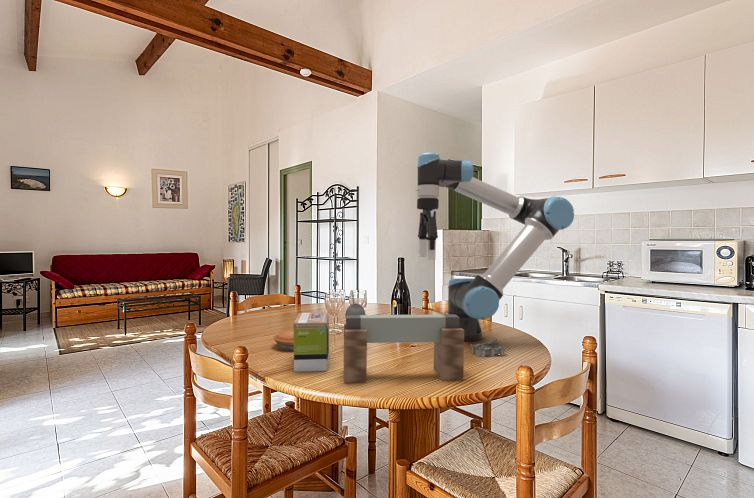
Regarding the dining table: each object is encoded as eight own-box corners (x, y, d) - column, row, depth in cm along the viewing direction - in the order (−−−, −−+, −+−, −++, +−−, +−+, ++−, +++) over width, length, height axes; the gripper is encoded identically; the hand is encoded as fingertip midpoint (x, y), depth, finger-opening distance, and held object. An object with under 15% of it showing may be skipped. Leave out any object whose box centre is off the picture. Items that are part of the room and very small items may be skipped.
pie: (263, 348, 144) (263, 334, 143) (292, 338, 157) (292, 325, 157) (298, 355, 136) (298, 340, 136) (326, 344, 150) (326, 330, 150)
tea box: (298, 356, 135) (298, 311, 134) (329, 356, 135) (329, 311, 135) (292, 372, 120) (293, 321, 119) (327, 371, 120) (328, 321, 120)
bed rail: (454, 338, 121) (455, 314, 121) (458, 341, 117) (459, 317, 117) (345, 339, 118) (345, 315, 118) (345, 343, 114) (346, 318, 114)
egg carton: (497, 350, 145) (497, 339, 145) (507, 357, 138) (508, 344, 138) (468, 351, 143) (469, 339, 143) (477, 358, 136) (477, 345, 136)
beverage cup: (362, 351, 141) (363, 293, 141) (342, 349, 143) (342, 292, 142) (367, 345, 149) (368, 290, 148) (347, 344, 150) (348, 289, 149)
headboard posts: (453, 368, 125) (454, 322, 124) (463, 380, 115) (464, 330, 114) (343, 370, 121) (344, 323, 121) (344, 382, 112) (344, 331, 111)
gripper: (410, 200, 157) (410, 256, 158) (425, 194, 132) (423, 260, 133) (430, 200, 158) (429, 256, 159) (447, 195, 133) (446, 260, 134)
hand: (426, 258), depth 146 cm, fingers open, 13 cm apart
